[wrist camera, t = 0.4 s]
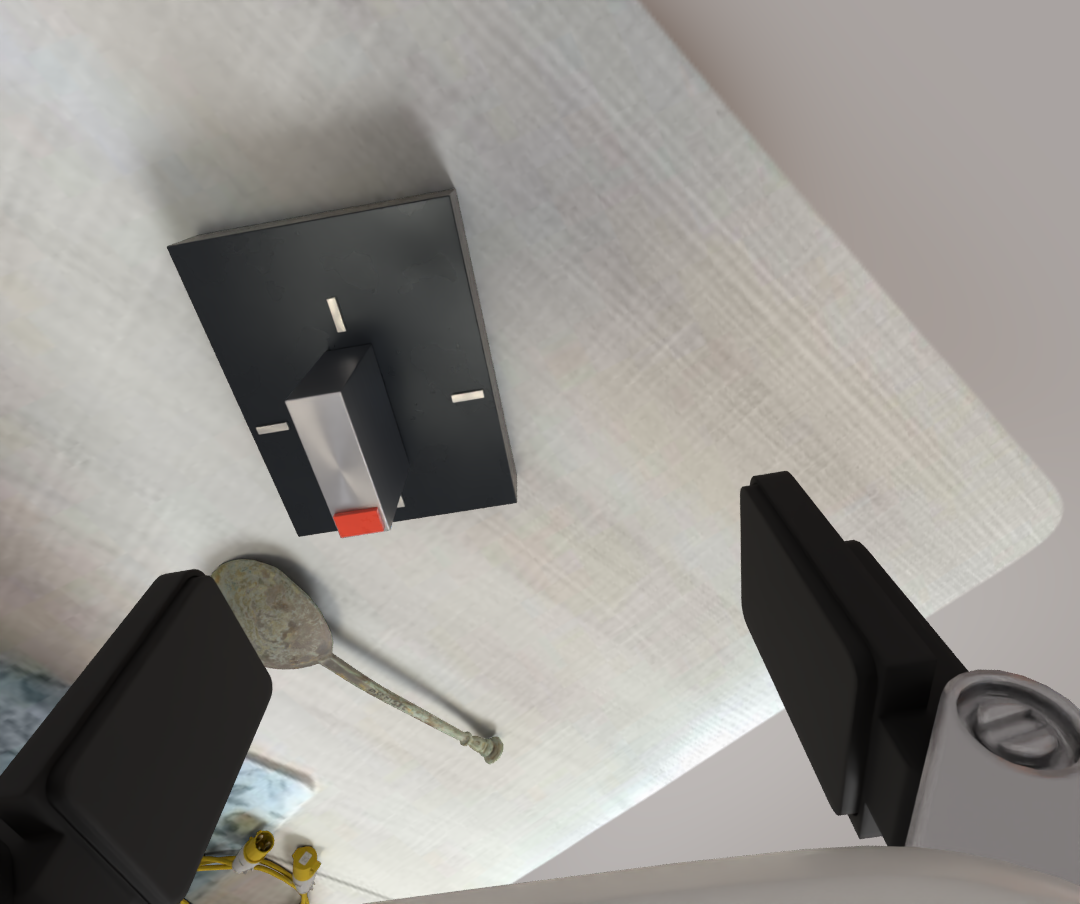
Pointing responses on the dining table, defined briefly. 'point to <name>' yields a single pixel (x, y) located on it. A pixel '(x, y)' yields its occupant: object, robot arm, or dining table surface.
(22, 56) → the dining table surface
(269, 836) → the extension cord
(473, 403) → the plate
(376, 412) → the tap handle
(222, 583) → the soupspoon
